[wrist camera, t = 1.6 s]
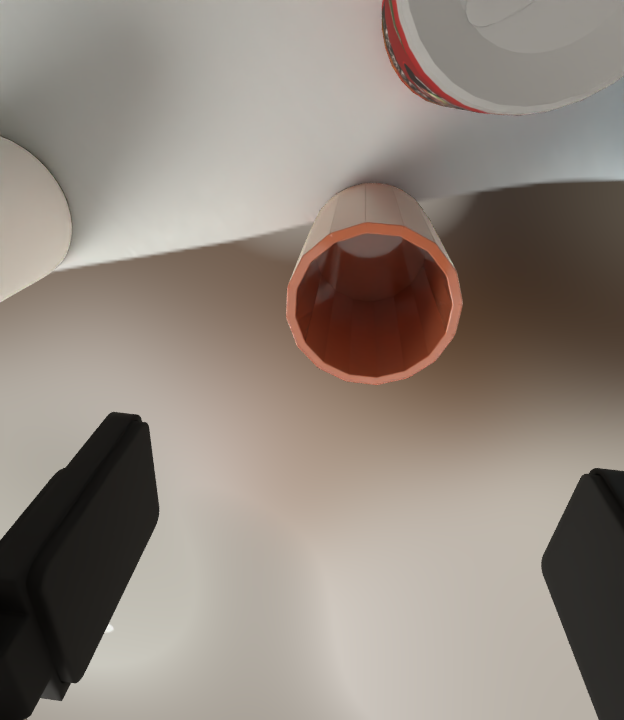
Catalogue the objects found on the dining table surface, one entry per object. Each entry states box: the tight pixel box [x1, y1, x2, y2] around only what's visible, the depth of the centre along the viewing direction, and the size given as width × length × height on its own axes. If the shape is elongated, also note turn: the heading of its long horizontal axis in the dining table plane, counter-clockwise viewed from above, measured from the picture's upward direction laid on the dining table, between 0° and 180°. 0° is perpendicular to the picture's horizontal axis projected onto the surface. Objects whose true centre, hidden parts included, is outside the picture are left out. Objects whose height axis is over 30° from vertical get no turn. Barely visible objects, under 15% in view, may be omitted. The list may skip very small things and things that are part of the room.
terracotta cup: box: [286, 183, 463, 385], centre depth 22 cm, size 7×7×9 cm
